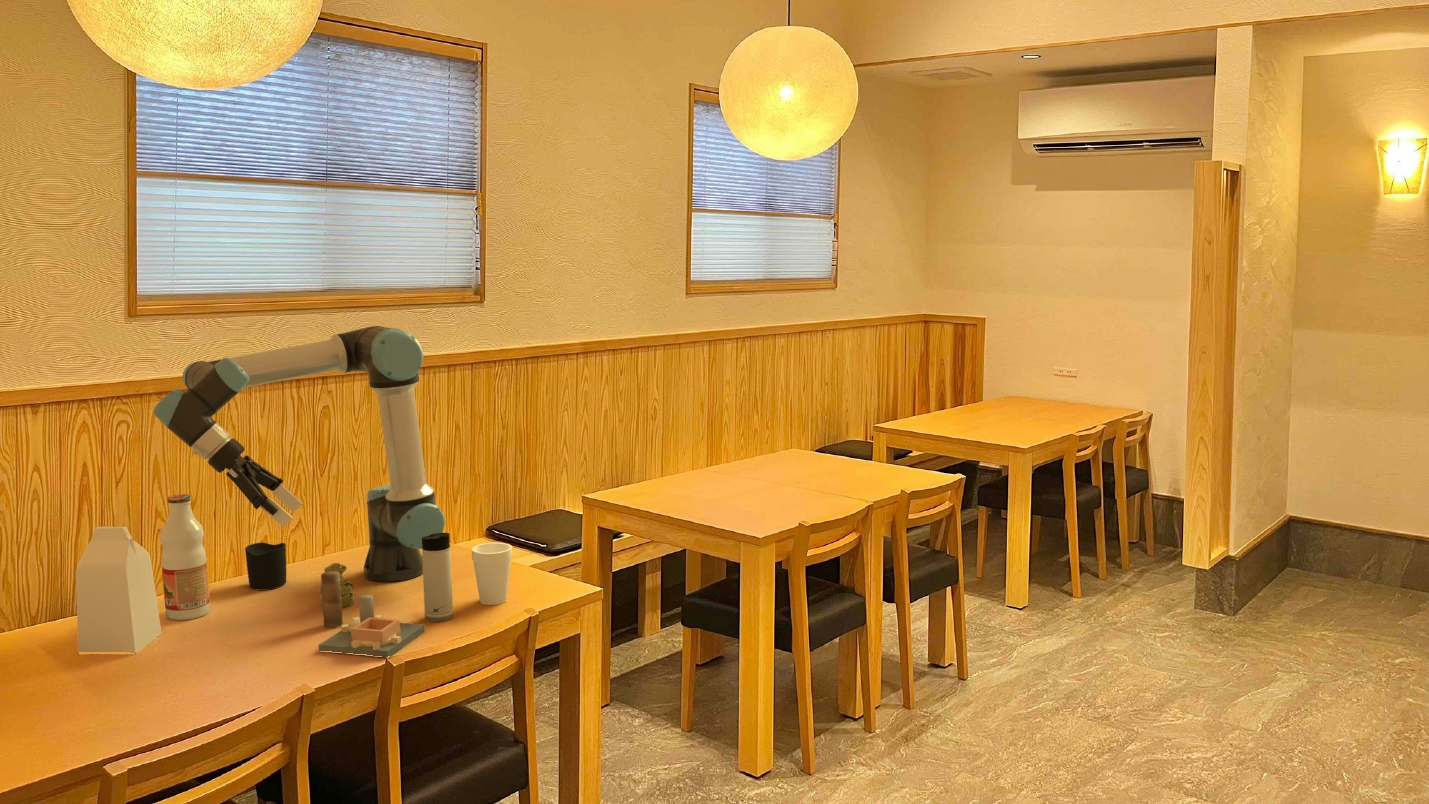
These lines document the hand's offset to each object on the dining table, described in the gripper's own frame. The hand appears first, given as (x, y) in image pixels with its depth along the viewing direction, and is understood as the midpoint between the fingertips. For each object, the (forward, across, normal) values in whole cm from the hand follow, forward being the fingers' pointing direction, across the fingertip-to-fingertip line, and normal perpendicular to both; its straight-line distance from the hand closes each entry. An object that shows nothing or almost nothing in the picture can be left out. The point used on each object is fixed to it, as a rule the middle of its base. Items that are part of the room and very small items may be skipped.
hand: (293, 515), depth 252 cm
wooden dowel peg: (+24, +1, -12) cm, 27 cm away
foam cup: (+48, -9, +14) cm, 51 cm away
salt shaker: (+23, -13, -13) cm, 29 cm away
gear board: (+30, +14, -5) cm, 34 cm away
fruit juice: (0, -13, -37) cm, 39 cm away
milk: (-6, +4, -44) cm, 44 cm away
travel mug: (+40, +1, +5) cm, 40 cm away
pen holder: (+10, -32, -26) cm, 43 cm away
